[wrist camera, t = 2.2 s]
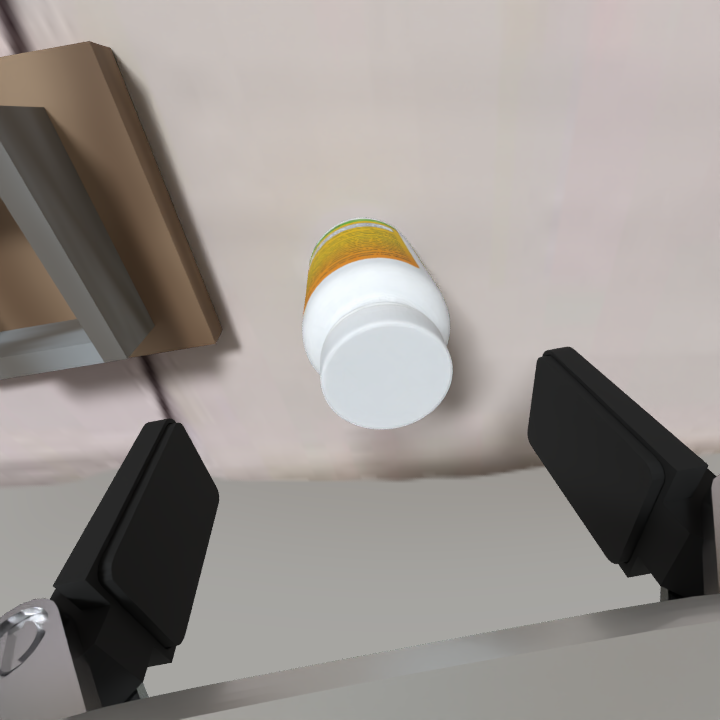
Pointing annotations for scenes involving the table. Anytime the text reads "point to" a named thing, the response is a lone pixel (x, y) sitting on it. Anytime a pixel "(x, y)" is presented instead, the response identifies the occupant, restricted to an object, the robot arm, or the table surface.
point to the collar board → (86, 223)
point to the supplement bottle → (375, 326)
